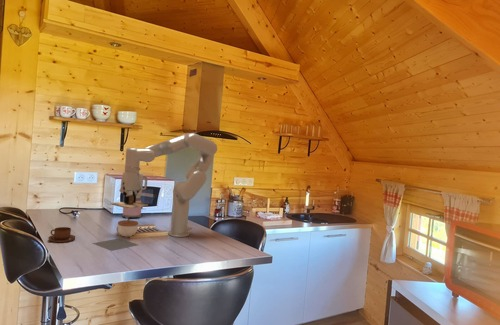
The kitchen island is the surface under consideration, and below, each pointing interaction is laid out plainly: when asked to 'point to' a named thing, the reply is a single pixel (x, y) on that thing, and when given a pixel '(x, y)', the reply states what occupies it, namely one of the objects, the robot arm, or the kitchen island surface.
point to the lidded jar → (127, 227)
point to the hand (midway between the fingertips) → (129, 202)
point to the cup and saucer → (61, 235)
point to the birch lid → (130, 204)
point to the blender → (136, 211)
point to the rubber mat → (115, 244)
